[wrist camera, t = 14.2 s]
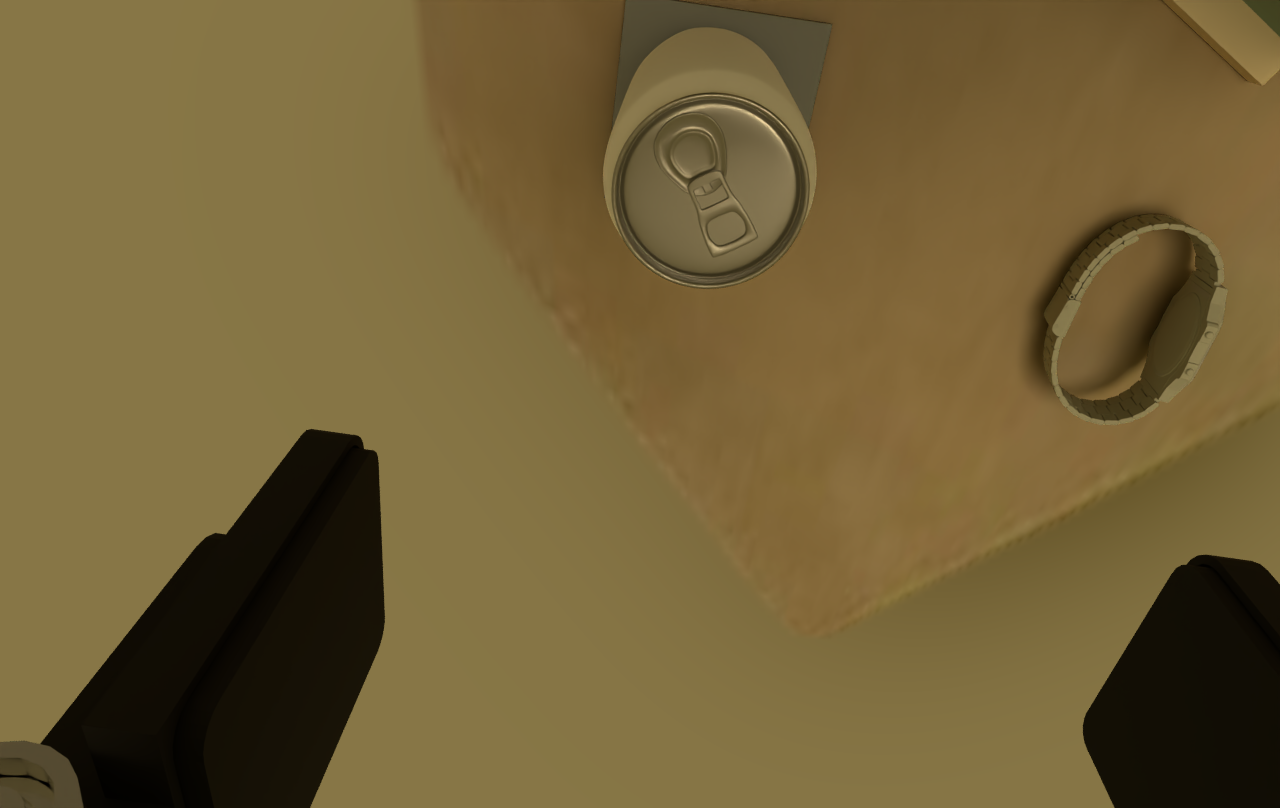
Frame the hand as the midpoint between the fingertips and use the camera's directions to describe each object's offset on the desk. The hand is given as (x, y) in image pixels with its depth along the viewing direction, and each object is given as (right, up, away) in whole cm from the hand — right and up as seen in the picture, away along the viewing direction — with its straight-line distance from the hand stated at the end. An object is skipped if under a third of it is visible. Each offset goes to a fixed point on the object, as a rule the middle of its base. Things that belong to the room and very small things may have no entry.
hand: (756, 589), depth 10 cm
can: (+1, +14, +24) cm, 28 cm away
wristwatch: (+20, +7, +28) cm, 35 cm away
